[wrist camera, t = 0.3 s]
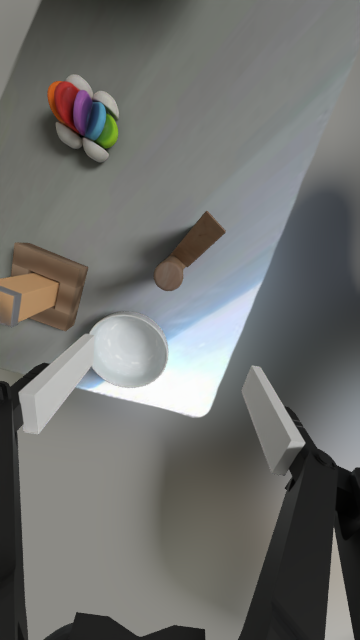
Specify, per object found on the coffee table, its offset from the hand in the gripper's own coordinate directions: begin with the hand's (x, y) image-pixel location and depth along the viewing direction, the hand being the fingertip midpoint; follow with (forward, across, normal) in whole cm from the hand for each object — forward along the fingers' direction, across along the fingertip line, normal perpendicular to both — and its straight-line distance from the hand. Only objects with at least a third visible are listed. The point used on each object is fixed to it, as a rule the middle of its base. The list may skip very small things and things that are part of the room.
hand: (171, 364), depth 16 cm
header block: (+27, -27, -5) cm, 38 cm away
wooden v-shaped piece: (+28, -1, +8) cm, 29 cm away
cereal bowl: (+27, -8, -14) cm, 32 cm away
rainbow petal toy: (+28, -20, +24) cm, 42 cm away
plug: (+27, -27, -5) cm, 38 cm away
